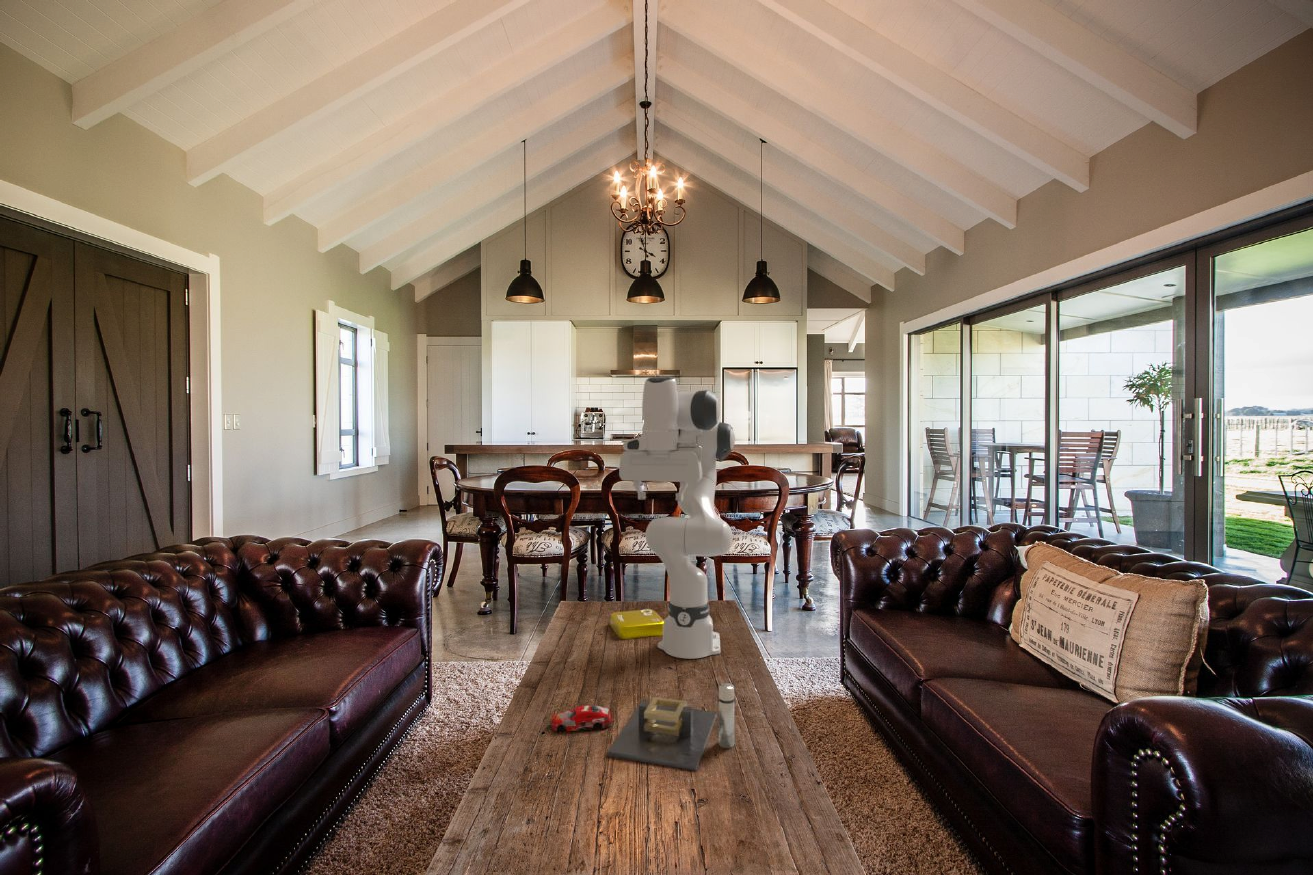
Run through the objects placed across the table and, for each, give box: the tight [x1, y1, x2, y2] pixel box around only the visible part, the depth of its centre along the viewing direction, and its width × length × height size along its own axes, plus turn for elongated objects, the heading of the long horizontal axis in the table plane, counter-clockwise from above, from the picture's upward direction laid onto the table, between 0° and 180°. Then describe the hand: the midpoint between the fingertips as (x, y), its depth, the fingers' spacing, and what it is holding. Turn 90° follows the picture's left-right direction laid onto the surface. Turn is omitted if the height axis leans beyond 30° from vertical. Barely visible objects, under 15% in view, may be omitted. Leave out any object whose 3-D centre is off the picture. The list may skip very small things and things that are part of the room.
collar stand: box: [607, 696, 718, 772], centre depth 125 cm, size 22×18×6 cm
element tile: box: [610, 608, 665, 640], centre depth 191 cm, size 15×15×5 cm
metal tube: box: [717, 682, 736, 749], centre depth 122 cm, size 3×3×12 cm
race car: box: [550, 704, 612, 733], centre depth 129 cm, size 13×5×4 cm, turn 96°
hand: (660, 499), depth 143 cm, fingers open, 8 cm apart
